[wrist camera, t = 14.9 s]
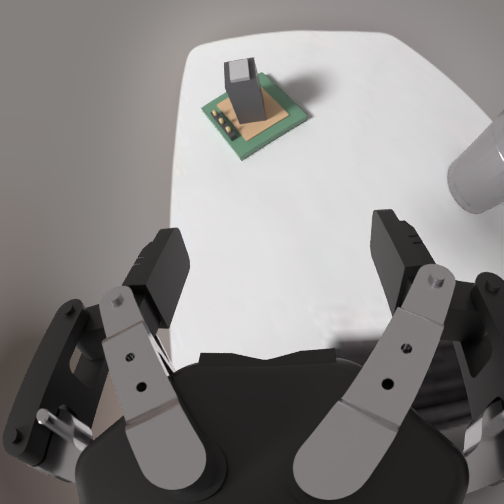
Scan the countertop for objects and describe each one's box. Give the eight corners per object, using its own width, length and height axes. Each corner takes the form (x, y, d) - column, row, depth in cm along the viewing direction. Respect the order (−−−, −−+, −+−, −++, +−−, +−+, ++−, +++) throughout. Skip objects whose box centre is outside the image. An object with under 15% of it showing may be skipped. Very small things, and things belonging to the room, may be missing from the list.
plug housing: (262, 95, 41) (252, 54, 31) (266, 120, 40) (256, 79, 31) (237, 99, 41) (222, 59, 32) (239, 124, 41) (223, 85, 31)
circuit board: (262, 76, 43) (260, 63, 40) (307, 119, 41) (307, 107, 37) (203, 112, 44) (196, 100, 40) (241, 160, 41) (236, 150, 38)
